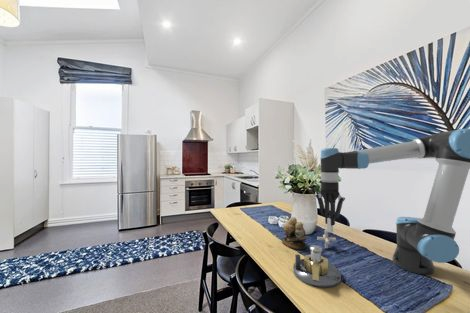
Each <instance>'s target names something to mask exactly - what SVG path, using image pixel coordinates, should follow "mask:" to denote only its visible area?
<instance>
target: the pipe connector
mask: <svg viewBox="0 0 470 313" xmlns="http://www.w3.org/2000/svg"><path fill="white" fill-rule="evenodd" d="M316 238H317V239H316V240H317V241H324V248H325V249H329V245H330V244H331V242H336V241H337V238H336V237H331V236H330V237H329V232H327V229H324V234H322V236H316Z"/></svg>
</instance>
